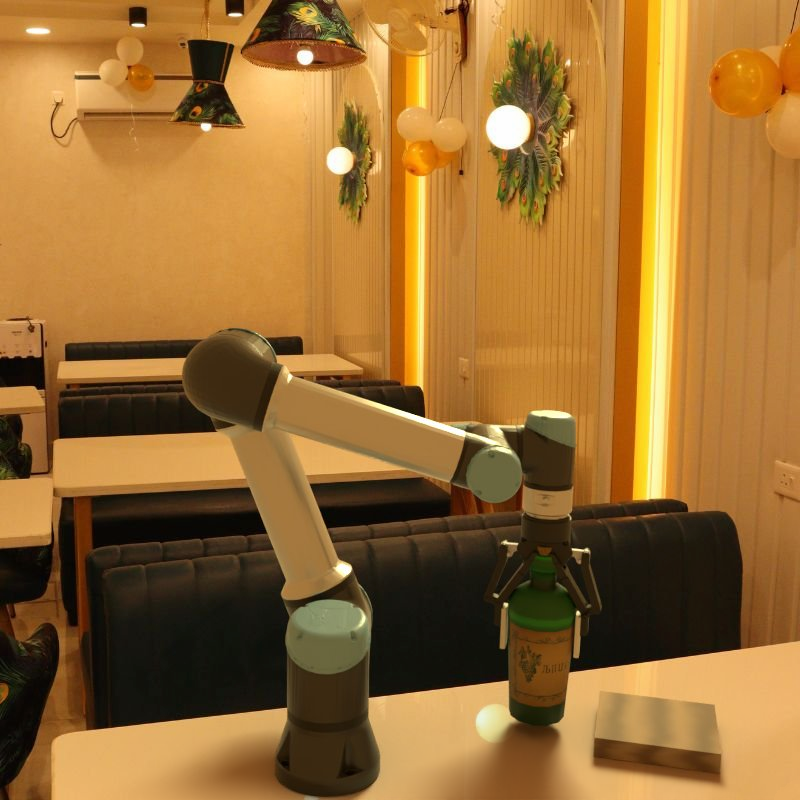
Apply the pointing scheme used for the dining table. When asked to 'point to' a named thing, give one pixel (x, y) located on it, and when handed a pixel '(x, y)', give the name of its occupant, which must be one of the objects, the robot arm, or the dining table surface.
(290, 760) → the robot arm
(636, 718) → the walnut riser
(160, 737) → the dining table surface
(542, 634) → the bottle
